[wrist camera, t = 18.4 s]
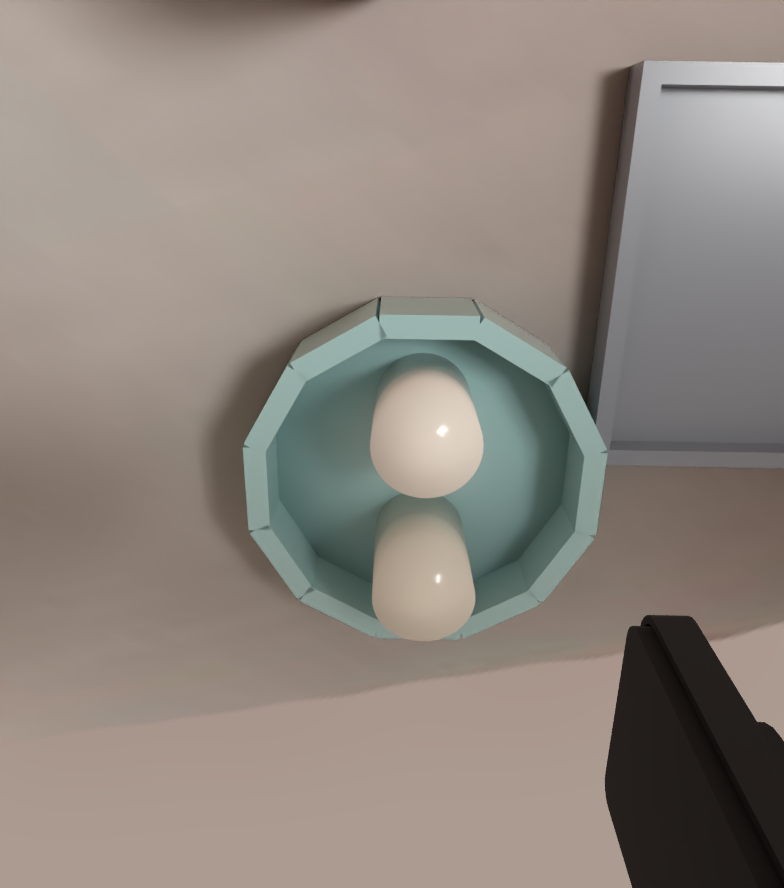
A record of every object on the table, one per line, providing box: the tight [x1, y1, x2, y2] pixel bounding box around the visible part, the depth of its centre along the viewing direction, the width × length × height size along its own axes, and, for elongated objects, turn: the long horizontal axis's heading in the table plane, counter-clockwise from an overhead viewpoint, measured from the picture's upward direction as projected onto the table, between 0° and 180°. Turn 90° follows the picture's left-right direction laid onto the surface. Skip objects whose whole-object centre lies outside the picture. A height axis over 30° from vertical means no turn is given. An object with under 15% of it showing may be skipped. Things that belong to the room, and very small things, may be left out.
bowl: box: [243, 297, 608, 640], centre depth 33 cm, size 16×16×4 cm
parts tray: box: [587, 61, 784, 468], centre depth 31 cm, size 14×17×2 cm
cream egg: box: [370, 353, 484, 498], centre depth 30 cm, size 4×4×6 cm
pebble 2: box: [372, 493, 475, 642], centre depth 32 cm, size 4×4×6 cm
